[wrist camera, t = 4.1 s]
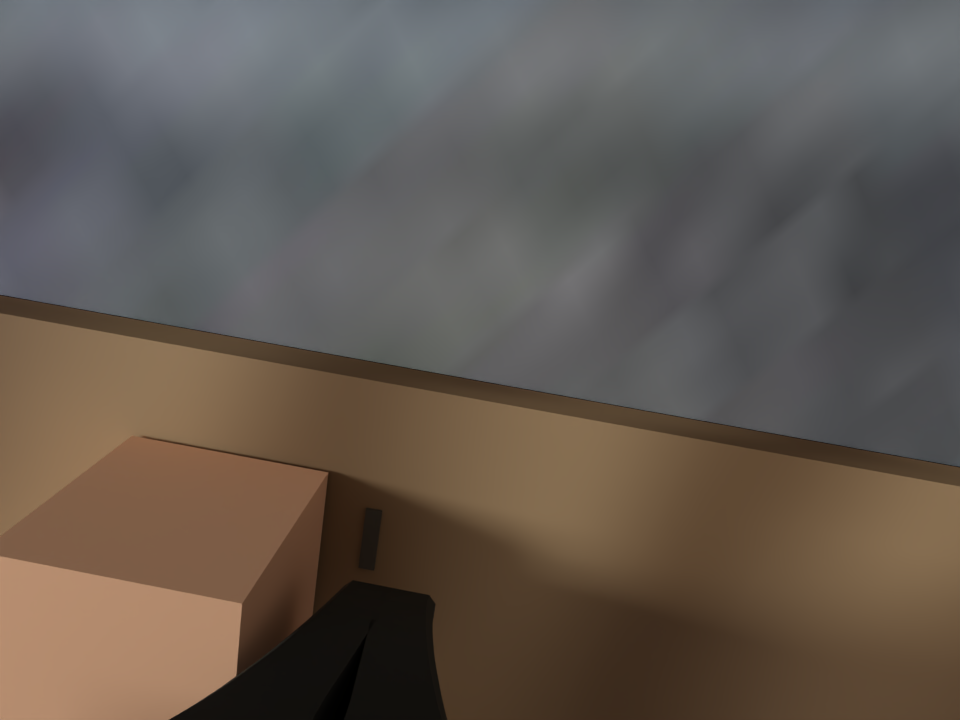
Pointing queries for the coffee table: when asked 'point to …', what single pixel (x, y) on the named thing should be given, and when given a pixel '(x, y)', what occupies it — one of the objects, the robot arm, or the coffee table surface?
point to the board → (540, 523)
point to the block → (154, 581)
